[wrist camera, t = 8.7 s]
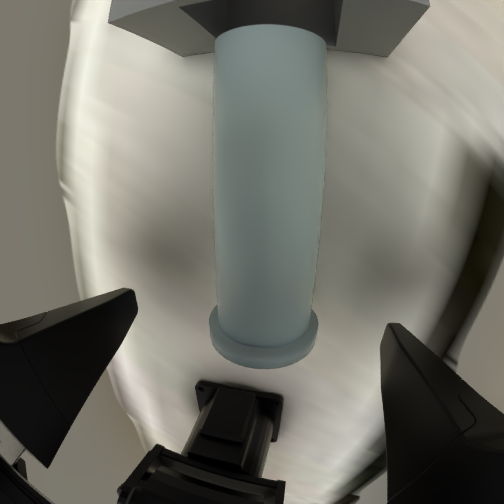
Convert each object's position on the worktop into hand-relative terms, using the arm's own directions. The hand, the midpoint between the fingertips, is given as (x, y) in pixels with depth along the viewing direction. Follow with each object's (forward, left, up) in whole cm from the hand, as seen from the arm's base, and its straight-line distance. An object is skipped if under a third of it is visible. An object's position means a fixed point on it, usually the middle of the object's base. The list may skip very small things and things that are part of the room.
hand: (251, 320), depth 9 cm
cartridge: (+3, 0, -5) cm, 6 cm away
